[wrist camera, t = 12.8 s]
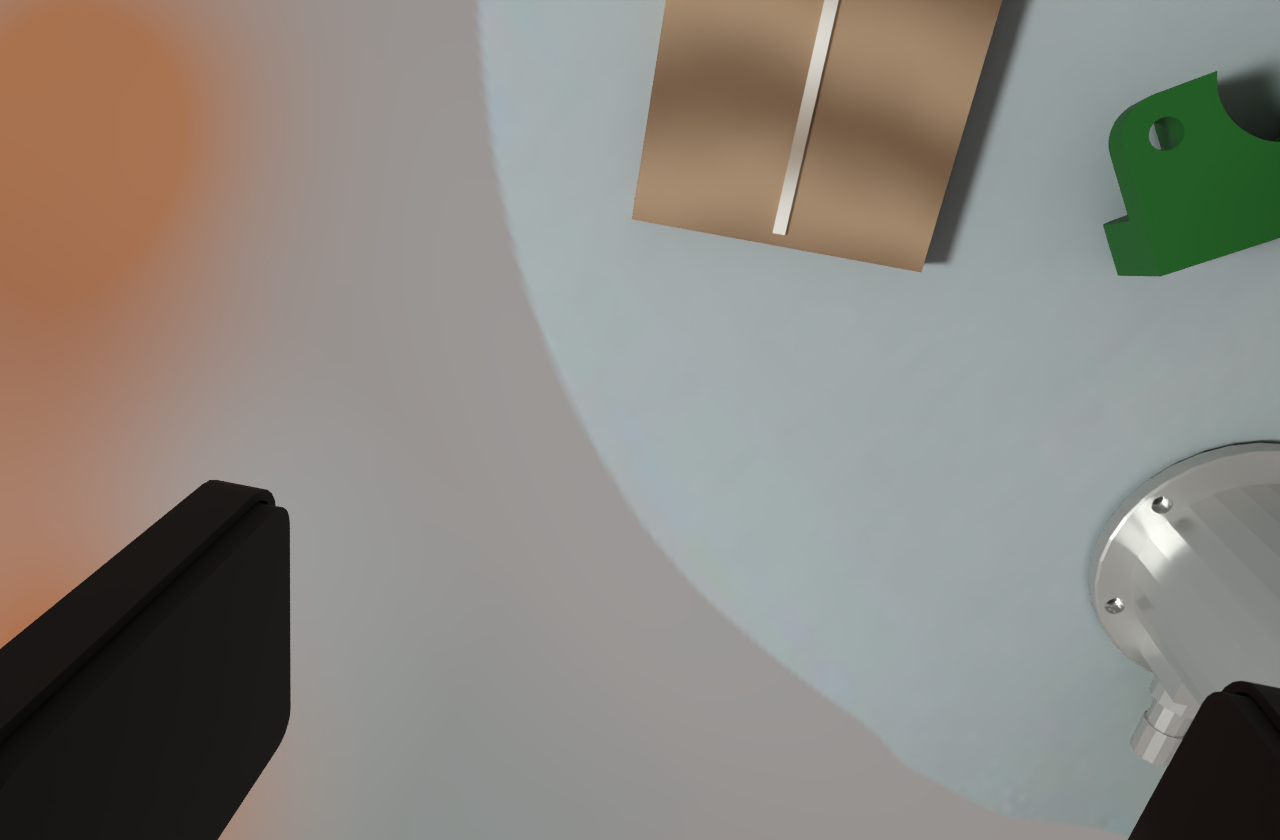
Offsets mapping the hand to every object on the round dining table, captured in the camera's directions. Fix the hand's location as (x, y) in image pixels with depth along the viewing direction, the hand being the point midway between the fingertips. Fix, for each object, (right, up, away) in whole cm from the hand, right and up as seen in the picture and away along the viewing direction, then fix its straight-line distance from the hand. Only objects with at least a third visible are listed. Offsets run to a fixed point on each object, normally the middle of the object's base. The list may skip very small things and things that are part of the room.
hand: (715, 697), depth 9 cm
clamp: (+22, +14, +25) cm, 36 cm away
